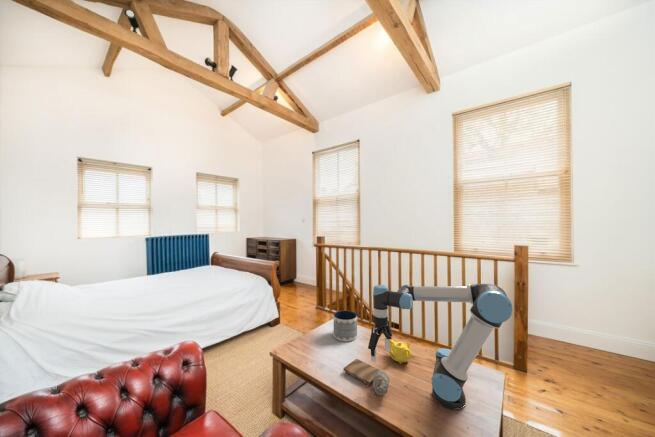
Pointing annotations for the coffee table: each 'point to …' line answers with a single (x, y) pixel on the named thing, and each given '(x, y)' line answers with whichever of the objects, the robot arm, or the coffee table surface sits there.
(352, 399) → the coffee table surface
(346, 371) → the stand
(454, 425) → the coffee table surface
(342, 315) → the planter
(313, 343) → the coffee table surface
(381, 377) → the stone
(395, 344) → the teapot
